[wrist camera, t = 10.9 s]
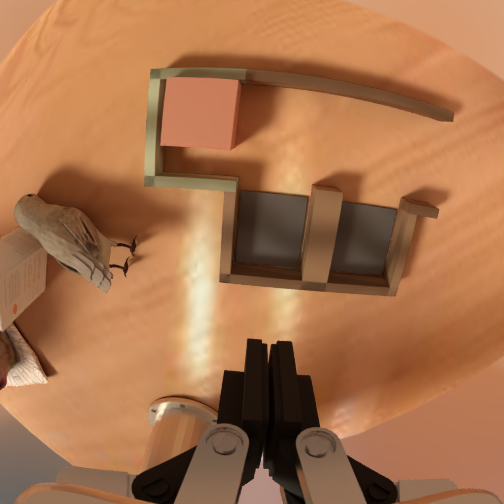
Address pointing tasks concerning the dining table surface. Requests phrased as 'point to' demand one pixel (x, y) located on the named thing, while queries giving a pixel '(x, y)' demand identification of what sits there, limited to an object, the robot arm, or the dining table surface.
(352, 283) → the trap run
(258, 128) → the dining table surface
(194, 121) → the block
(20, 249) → the small box
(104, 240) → the decorative bird
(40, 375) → the cookie jar
